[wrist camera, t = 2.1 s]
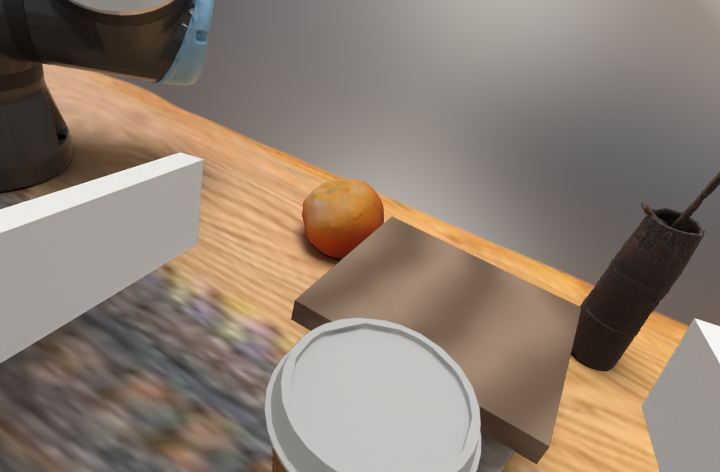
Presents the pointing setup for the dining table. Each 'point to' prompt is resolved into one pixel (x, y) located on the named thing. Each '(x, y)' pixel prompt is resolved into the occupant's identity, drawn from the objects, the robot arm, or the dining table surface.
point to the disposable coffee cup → (371, 403)
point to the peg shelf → (461, 327)
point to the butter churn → (636, 282)
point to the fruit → (341, 215)
